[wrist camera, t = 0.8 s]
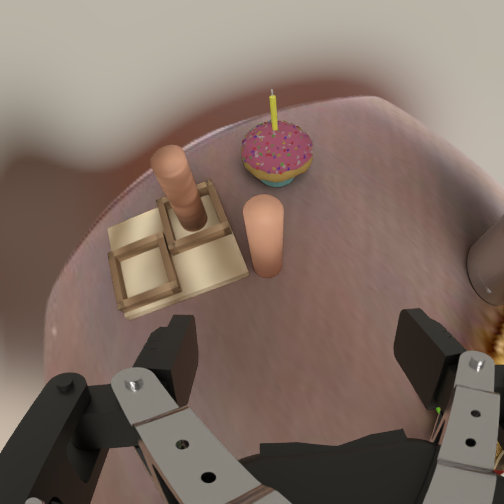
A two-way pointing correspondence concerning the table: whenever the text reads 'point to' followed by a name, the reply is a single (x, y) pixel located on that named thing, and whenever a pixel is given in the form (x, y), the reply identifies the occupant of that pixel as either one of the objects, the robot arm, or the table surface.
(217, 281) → the board
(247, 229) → the peg
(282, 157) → the cupcake
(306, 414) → the table surface
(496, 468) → the coffee can
